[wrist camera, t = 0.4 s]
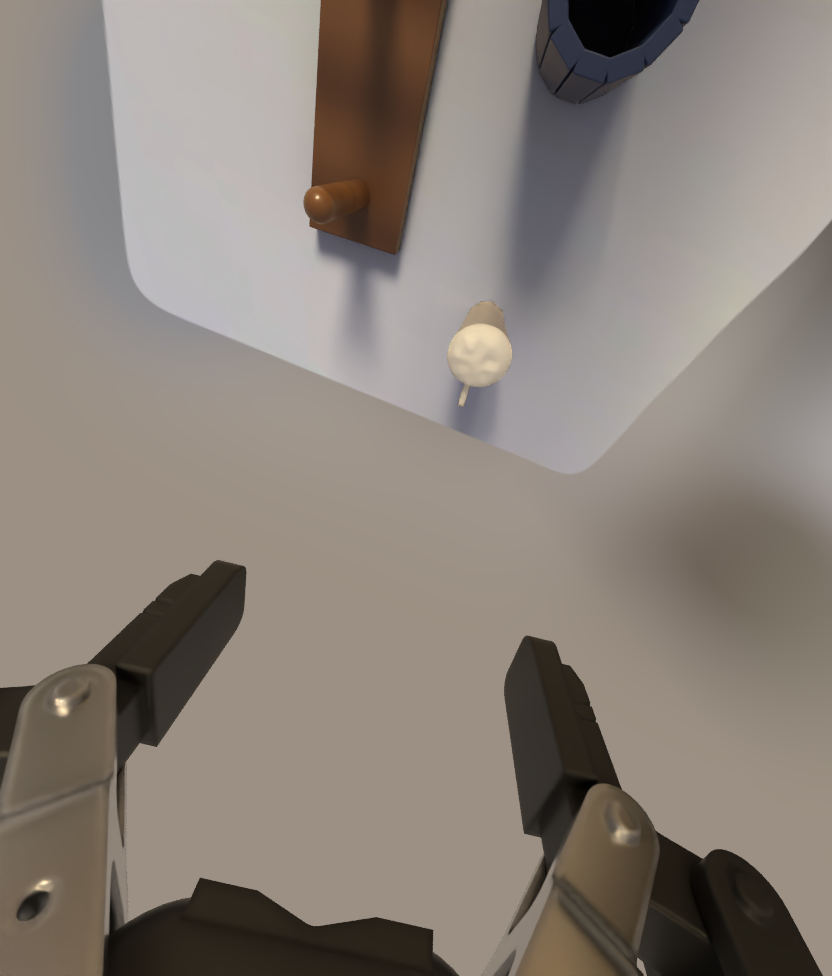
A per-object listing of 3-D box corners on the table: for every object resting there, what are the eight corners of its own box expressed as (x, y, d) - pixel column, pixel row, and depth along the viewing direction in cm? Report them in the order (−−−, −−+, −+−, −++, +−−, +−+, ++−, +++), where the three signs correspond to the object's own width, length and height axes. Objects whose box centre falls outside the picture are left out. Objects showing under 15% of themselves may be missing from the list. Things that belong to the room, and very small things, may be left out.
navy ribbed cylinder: (567, -75, 20) (599, -203, 13) (674, -36, 21) (766, -142, 13) (520, 84, 24) (522, 56, 17) (609, 116, 25) (651, 101, 17)
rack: (340, -157, 20) (238, -337, 13) (468, -111, 20) (443, -261, 13) (316, 223, 32) (256, 246, 24) (399, 251, 32) (364, 282, 24)
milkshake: (448, 344, 36) (431, 394, 28) (471, 283, 32) (458, 323, 25) (494, 362, 36) (489, 417, 29) (521, 304, 33) (524, 349, 25)
